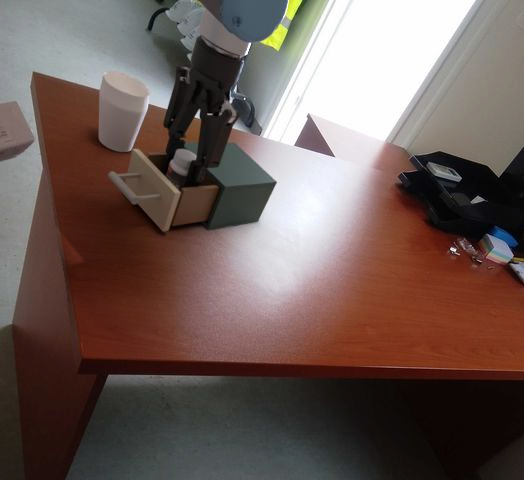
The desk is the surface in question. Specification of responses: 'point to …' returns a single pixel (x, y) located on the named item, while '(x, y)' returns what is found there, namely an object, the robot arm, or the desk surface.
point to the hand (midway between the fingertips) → (178, 183)
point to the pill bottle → (179, 167)
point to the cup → (121, 110)
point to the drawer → (164, 192)
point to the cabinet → (237, 188)
